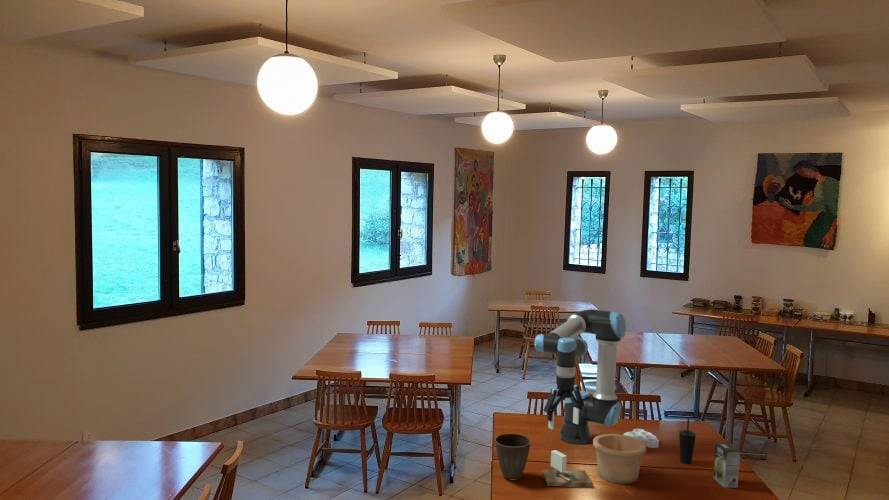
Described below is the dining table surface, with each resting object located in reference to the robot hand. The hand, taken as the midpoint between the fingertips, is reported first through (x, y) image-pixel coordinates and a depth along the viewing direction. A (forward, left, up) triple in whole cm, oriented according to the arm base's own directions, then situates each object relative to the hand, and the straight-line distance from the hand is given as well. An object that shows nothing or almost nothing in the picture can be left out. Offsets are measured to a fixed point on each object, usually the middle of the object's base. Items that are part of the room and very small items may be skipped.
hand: (563, 426), depth 270 cm
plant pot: (-16, -13, -23) cm, 31 cm away
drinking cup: (+28, +58, -23) cm, 68 cm away
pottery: (+14, +22, -23) cm, 35 cm away
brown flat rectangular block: (+2, +1, -23) cm, 23 cm away
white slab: (+1, -2, -21) cm, 21 cm away
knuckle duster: (+2, +67, -24) cm, 71 cm away
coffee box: (+49, +49, -23) cm, 73 cm away
